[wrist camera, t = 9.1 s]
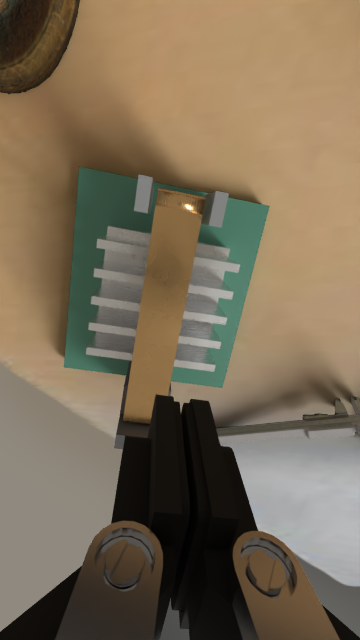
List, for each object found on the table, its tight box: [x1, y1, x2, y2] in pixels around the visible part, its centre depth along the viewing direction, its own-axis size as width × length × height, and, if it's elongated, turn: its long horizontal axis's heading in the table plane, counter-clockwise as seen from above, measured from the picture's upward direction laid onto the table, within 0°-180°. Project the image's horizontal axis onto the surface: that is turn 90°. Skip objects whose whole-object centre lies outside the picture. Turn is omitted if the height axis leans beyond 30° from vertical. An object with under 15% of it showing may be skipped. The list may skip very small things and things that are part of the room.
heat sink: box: [86, 225, 240, 372], centre depth 25 cm, size 10×10×6 cm
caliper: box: [216, 397, 360, 444], centre depth 33 cm, size 20×1×6 cm, turn 102°
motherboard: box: [64, 166, 269, 388], centre depth 25 cm, size 18×16×10 cm
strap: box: [123, 188, 206, 424], centre depth 21 cm, size 17×3×1 cm, turn 169°
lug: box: [114, 360, 171, 449], centre depth 27 cm, size 4×4×10 cm
